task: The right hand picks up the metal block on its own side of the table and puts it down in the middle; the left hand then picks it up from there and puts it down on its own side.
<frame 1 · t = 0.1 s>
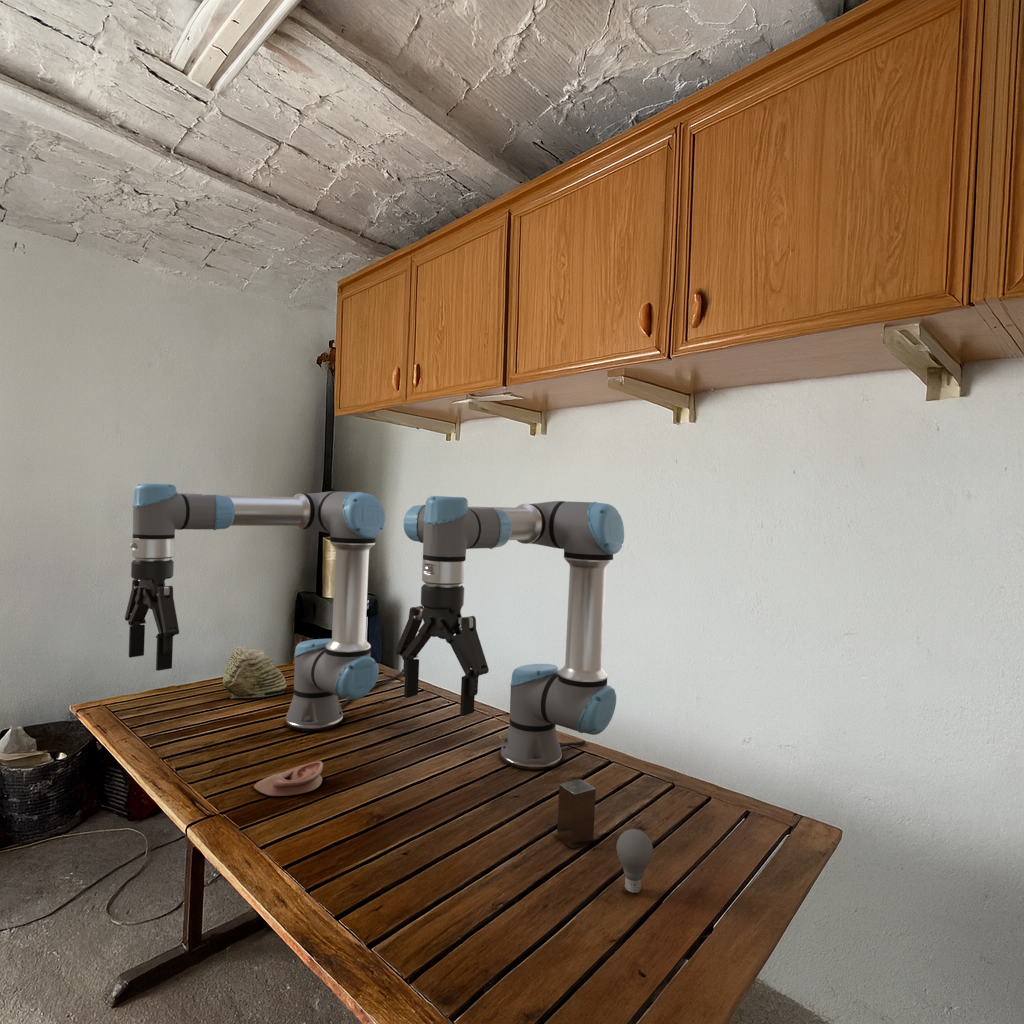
left hand: (149, 662, 129), 28 cm above the table, tool pointing down, fingers open, 13 cm apart
right hand: (437, 704, 111), 28 cm above the table, tool pointing down, fingers open, 13 cm apart
anatomical model: (288, 785, 138), on the table
block: (575, 839, 121), on the table
light bulb: (632, 891, 106), on the table
fossil: (254, 694, 198), on the table
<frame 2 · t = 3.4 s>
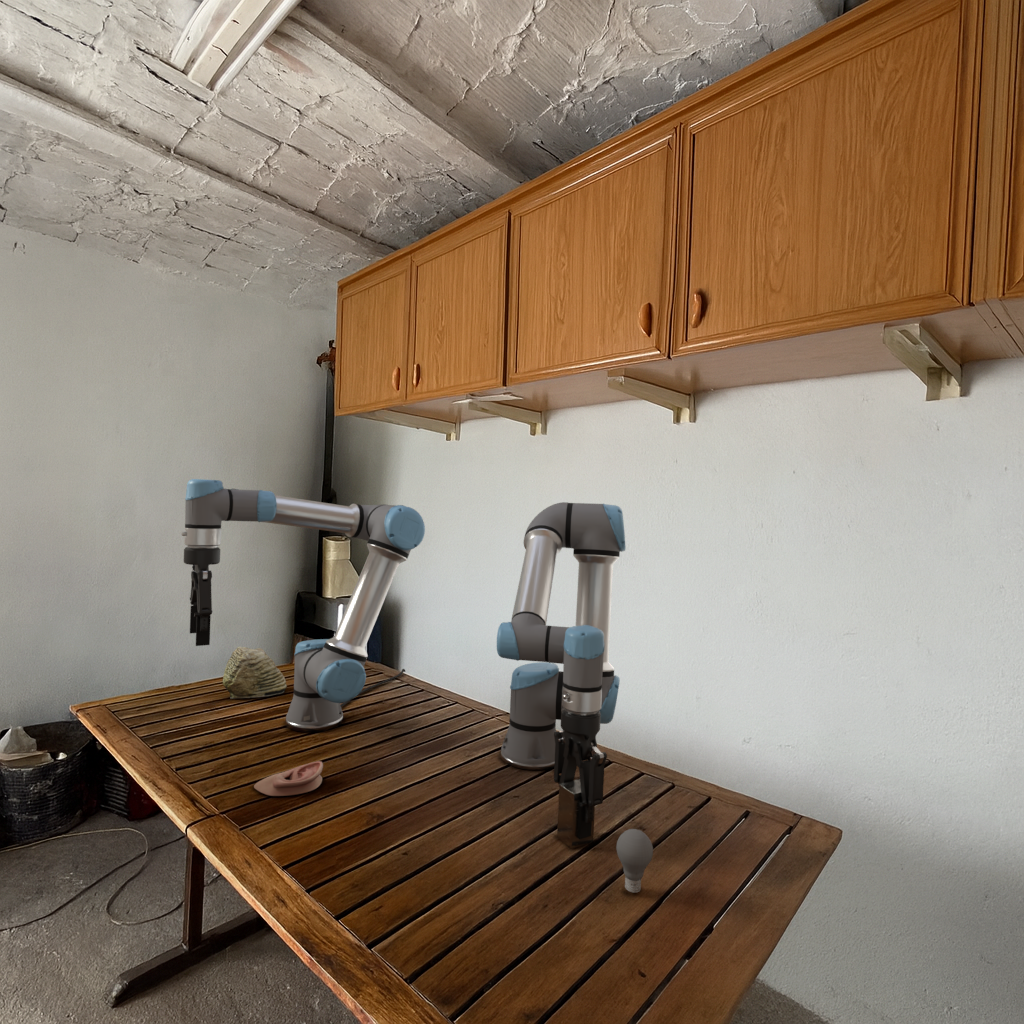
left hand: (199, 638, 145), 29 cm above the table, tool pointing down, fingers open, 13 cm apart
right hand: (575, 829, 121), 2 cm above the table, tool pointing down, fingers closed on block, 5 cm apart
block: (575, 839, 121), on the table, touching right hand
everything else where it was.
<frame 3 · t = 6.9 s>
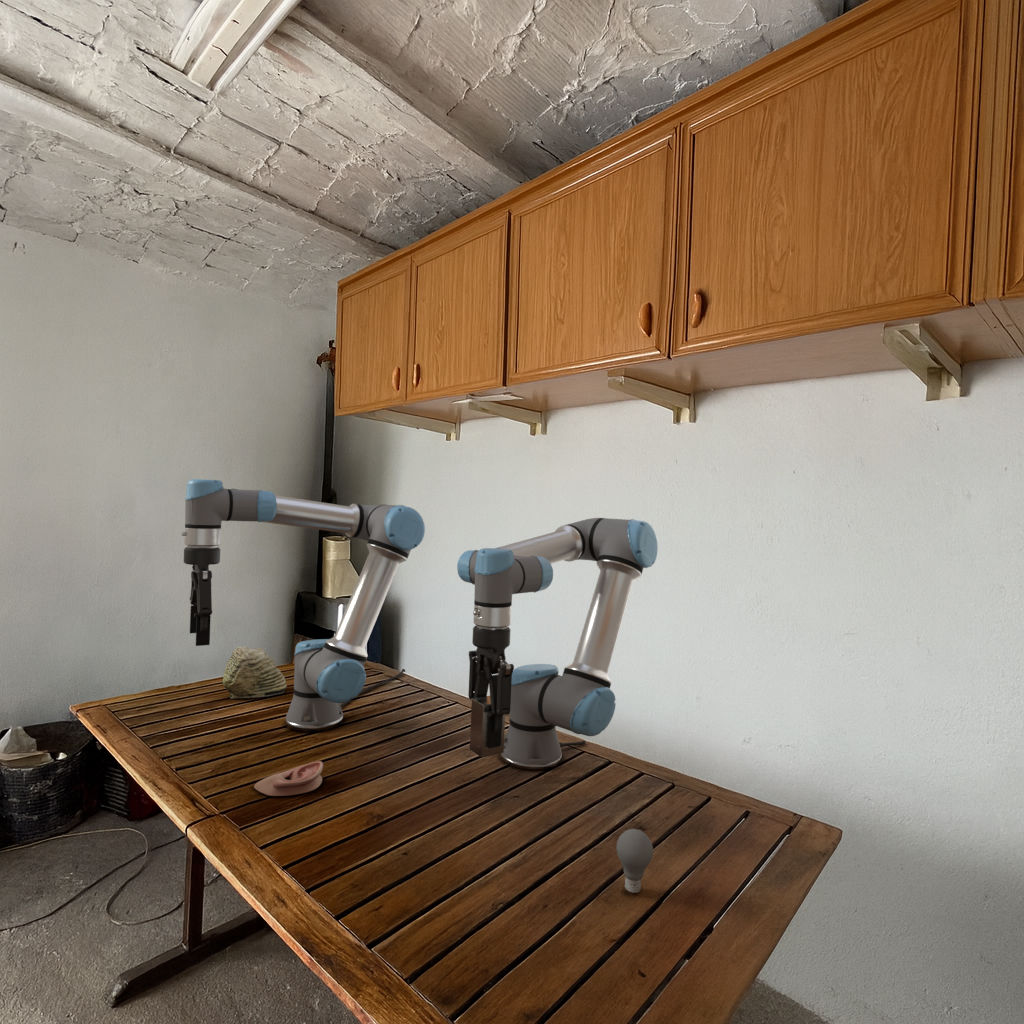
left hand: (199, 638, 145), 29 cm above the table, tool pointing down, fingers open, 13 cm apart
right hand: (486, 741, 127), 16 cm above the table, tool pointing down, fingers closed on block, 5 cm apart
block: (486, 751, 127), point 14 cm above the table, touching right hand
everything else where it was.
when the right hand's fingers open (4 cm above the table, at t = 10.3 s): block drops 2 cm, on the table.
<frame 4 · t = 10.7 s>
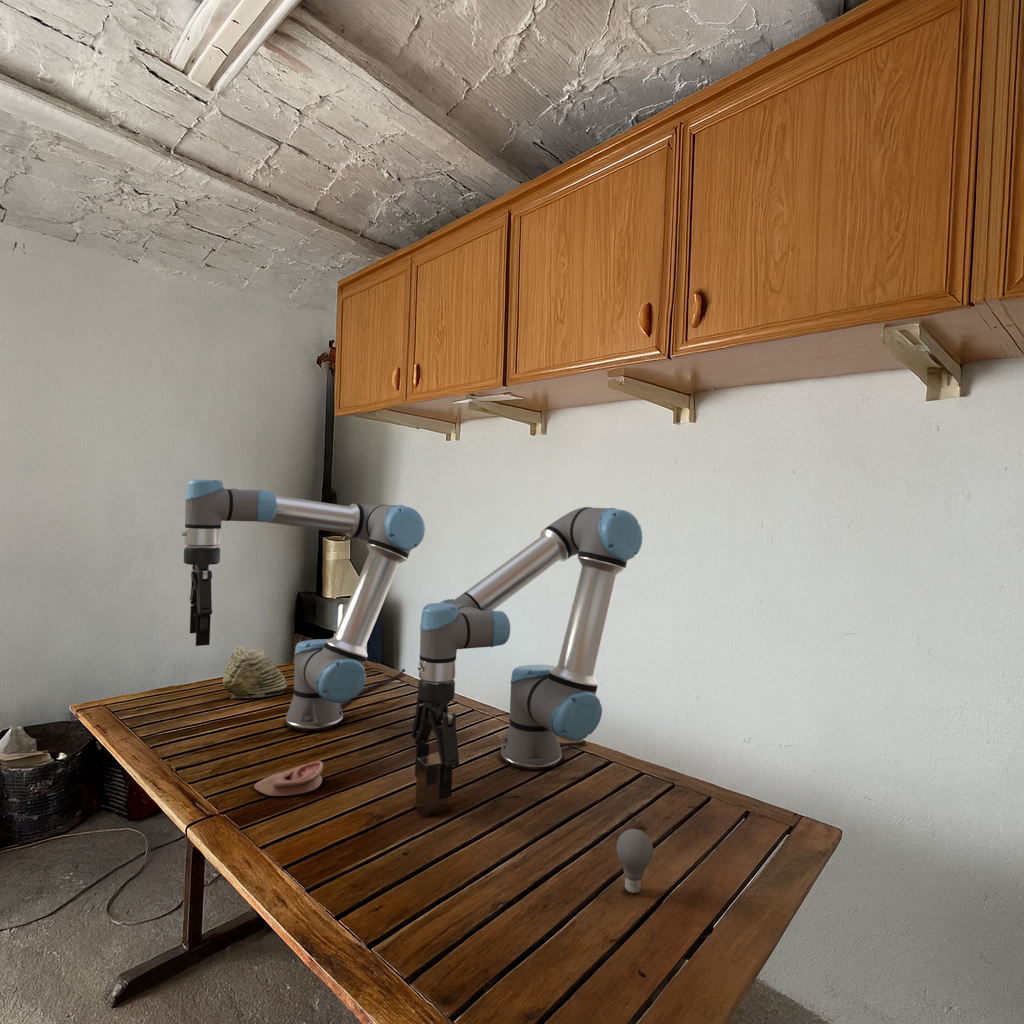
left hand: (199, 638, 145), 29 cm above the table, tool pointing down, fingers open, 13 cm apart
right hand: (432, 785, 131), 5 cm above the table, tool pointing down, fingers open, 10 cm apart
block: (431, 808, 131), on the table
everything else where it was.
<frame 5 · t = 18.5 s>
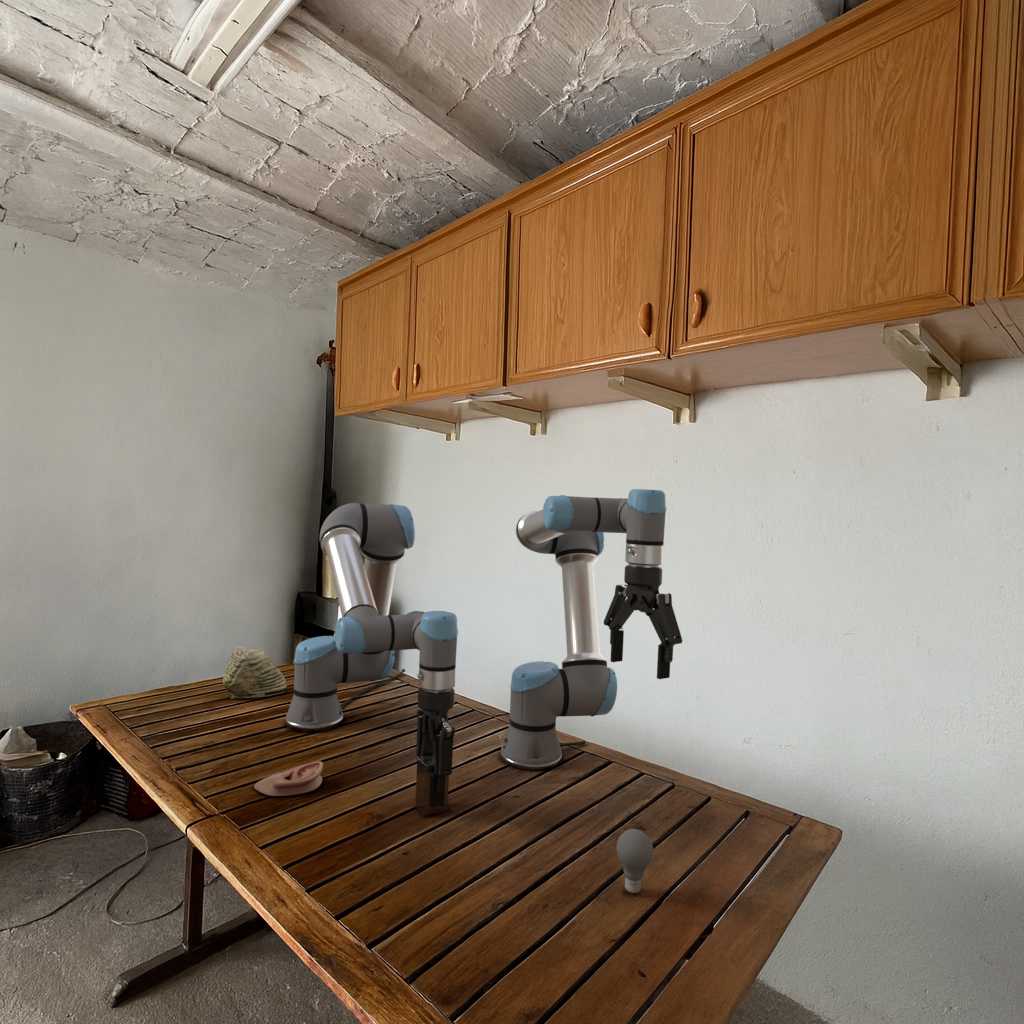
left hand: (431, 799, 131), 2 cm above the table, tool pointing down, fingers closed on block, 5 cm apart
right hand: (638, 669, 129), 31 cm above the table, tool pointing down, fingers open, 13 cm apart
block: (431, 808, 131), on the table, touching left hand
everything else where it was.
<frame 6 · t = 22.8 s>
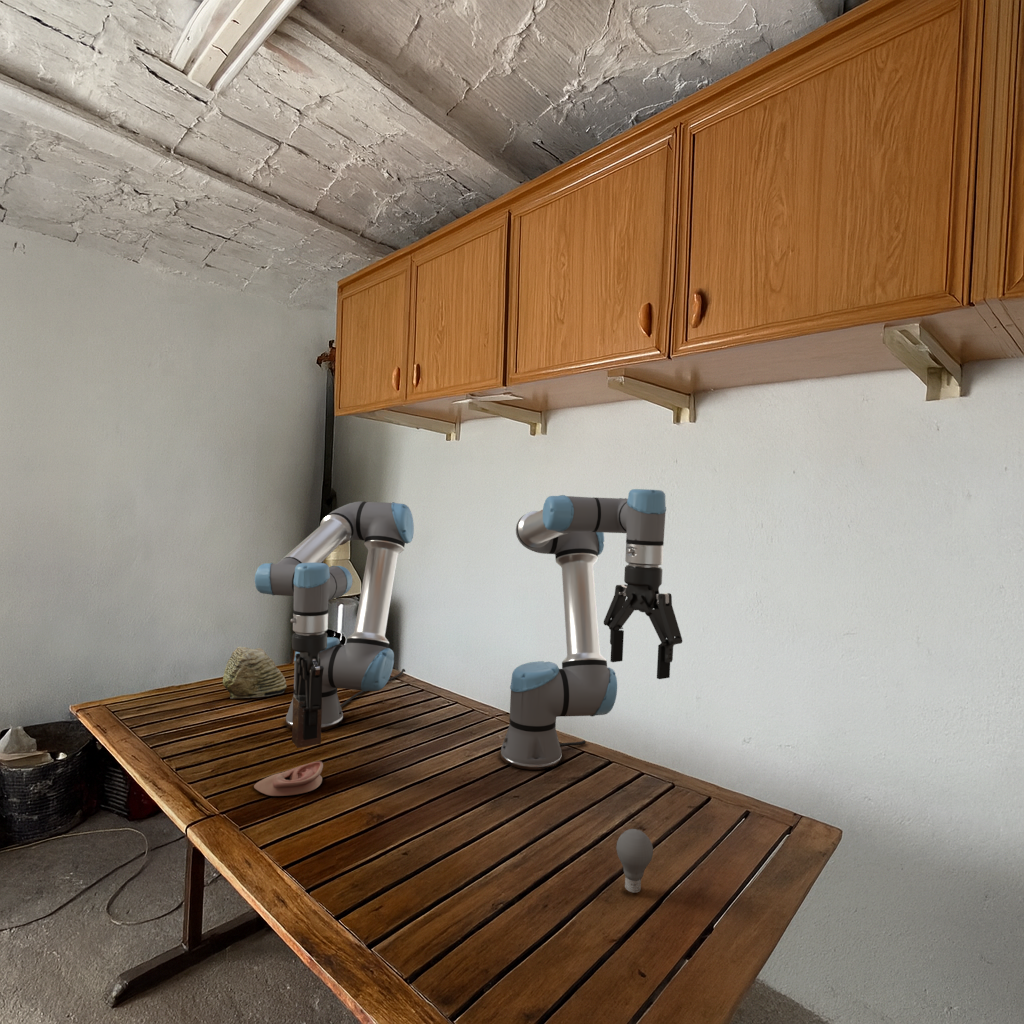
left hand: (306, 734, 143), 10 cm above the table, tool pointing down, fingers closed on block, 5 cm apart
right hand: (638, 669, 129), 31 cm above the table, tool pointing down, fingers open, 13 cm apart
block: (306, 742, 143), point 8 cm above the table, touching left hand
everything else where it was.
when the left hand's fingers open (4 cm above the table, at t = 27.5 s): block drops 2 cm, on the table.
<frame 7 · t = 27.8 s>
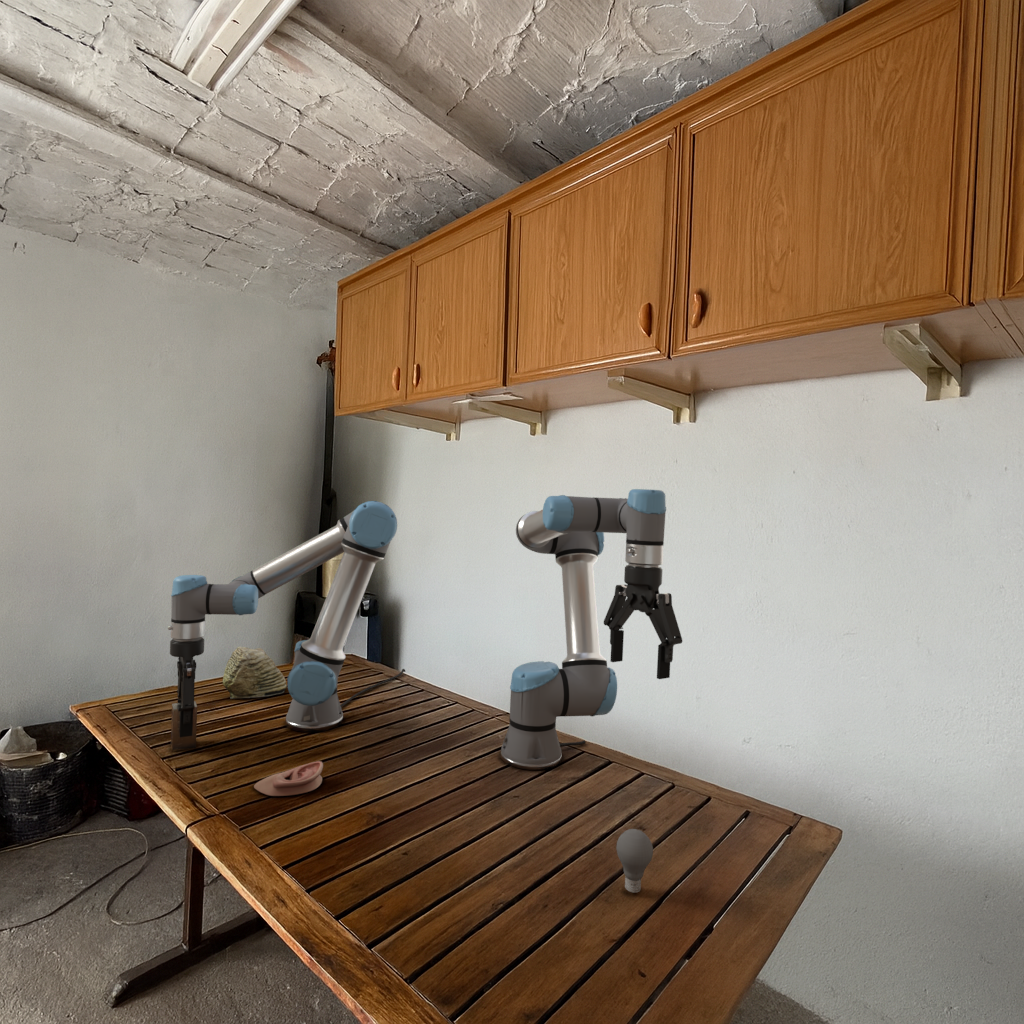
left hand: (184, 730, 156), 4 cm above the table, tool pointing down, fingers open, 8 cm apart
right hand: (638, 669, 129), 31 cm above the table, tool pointing down, fingers open, 13 cm apart
block: (183, 746, 156), on the table
everything else where it was.
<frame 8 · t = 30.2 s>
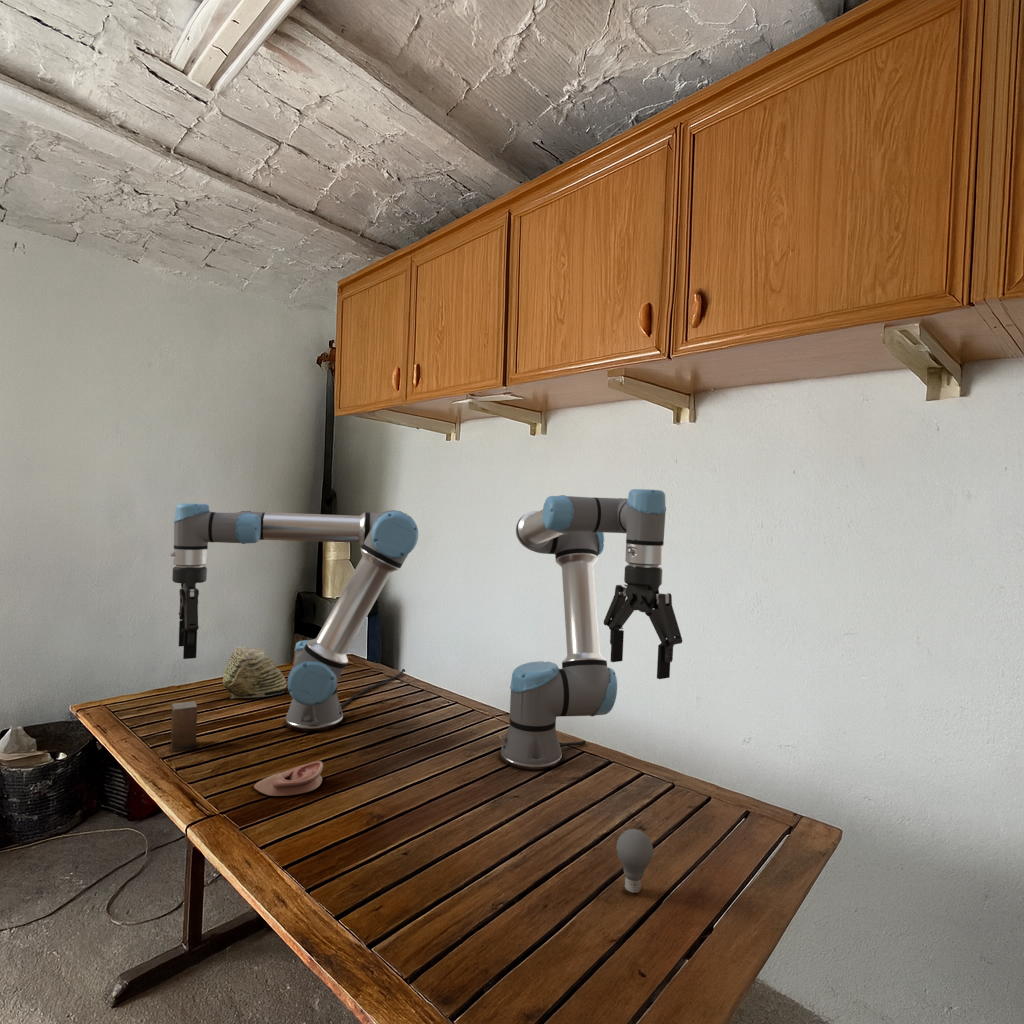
left hand: (187, 651, 156), 23 cm above the table, tool pointing down, fingers open, 13 cm apart
right hand: (638, 669, 129), 31 cm above the table, tool pointing down, fingers open, 13 cm apart
nothing on the table moved.
at the end: block inside the target area (0.1 cm from its centre), on the table; block tilted 0°; the two hands never held the block at the same time; the left hand is holding nothing; the right hand is holding nothing; block at rest at the end (0.0 cm/s) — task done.
